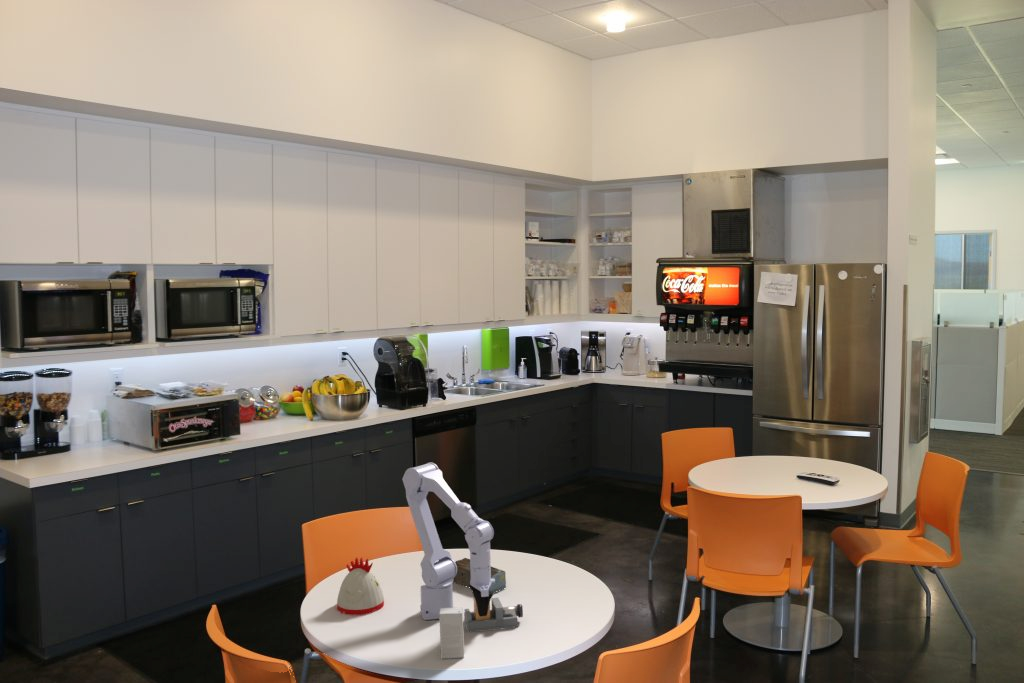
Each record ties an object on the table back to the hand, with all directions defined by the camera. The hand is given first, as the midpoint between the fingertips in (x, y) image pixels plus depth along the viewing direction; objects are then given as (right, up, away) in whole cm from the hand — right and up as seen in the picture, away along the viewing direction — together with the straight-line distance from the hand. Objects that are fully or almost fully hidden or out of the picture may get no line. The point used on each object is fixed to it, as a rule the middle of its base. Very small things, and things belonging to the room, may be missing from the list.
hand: (481, 612), depth 239 cm
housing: (+3, -4, +1) cm, 4 cm away
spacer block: (0, -2, 0) cm, 2 cm away
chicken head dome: (-37, -4, +16) cm, 41 cm away
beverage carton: (-3, -2, +32) cm, 32 cm away
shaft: (+8, -2, +2) cm, 8 cm away
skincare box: (-7, -5, -18) cm, 20 cm away
